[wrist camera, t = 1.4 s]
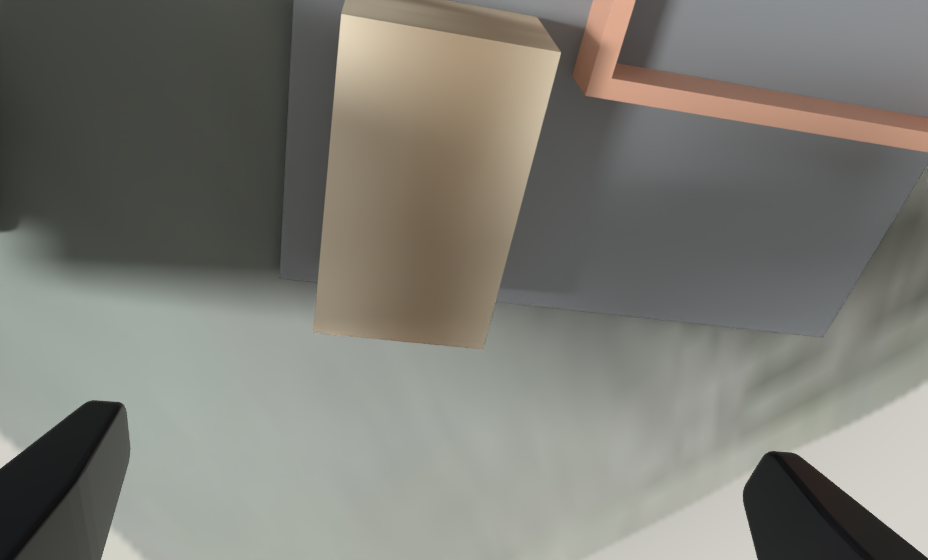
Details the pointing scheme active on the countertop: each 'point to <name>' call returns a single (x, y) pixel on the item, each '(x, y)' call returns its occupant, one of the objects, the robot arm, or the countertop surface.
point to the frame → (726, 92)
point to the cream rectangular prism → (427, 166)
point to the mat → (675, 163)
